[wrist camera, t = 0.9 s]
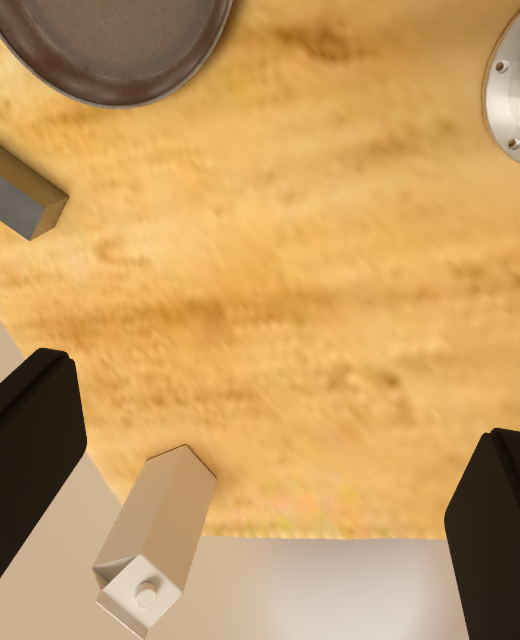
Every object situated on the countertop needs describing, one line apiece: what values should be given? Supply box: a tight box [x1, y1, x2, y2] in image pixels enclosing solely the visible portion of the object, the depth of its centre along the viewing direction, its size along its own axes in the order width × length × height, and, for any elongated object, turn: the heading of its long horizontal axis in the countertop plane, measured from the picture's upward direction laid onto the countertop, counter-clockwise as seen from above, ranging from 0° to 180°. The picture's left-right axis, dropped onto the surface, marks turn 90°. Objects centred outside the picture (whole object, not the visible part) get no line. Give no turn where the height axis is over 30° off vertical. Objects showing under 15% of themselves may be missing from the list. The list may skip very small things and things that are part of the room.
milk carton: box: [92, 445, 217, 640], centre depth 51 cm, size 7×7×19 cm
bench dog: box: [0, 146, 69, 241], centre depth 40 cm, size 4×10×4 cm, turn 53°
